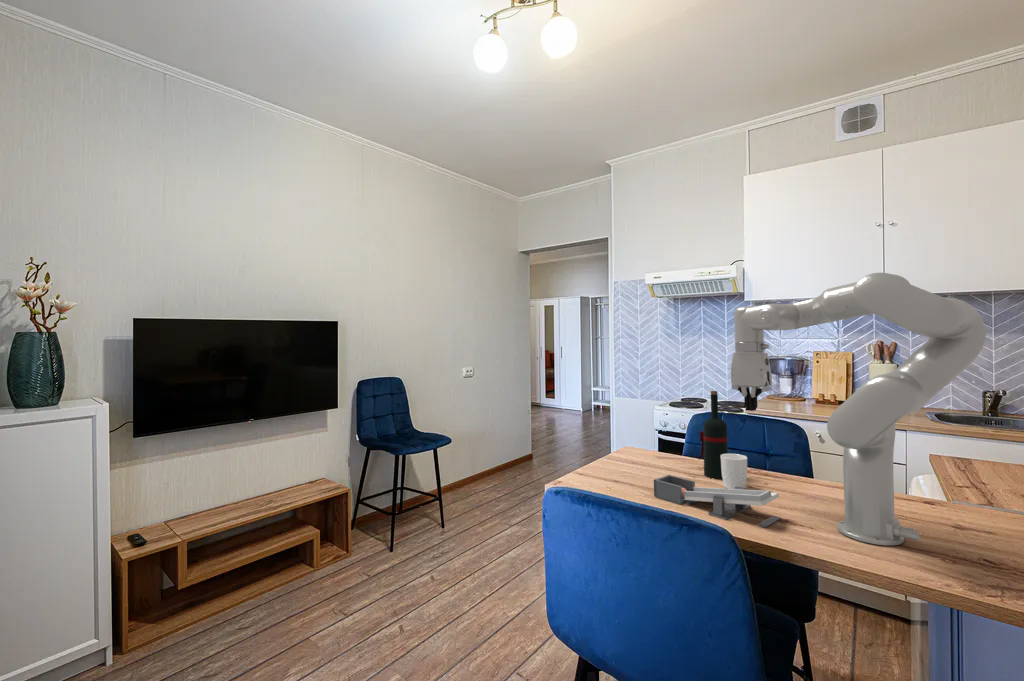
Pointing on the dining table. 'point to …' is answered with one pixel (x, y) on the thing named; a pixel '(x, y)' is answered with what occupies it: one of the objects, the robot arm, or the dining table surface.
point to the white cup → (734, 470)
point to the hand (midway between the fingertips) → (751, 410)
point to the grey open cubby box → (672, 488)
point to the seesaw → (731, 495)
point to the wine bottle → (713, 441)
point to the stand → (732, 510)
